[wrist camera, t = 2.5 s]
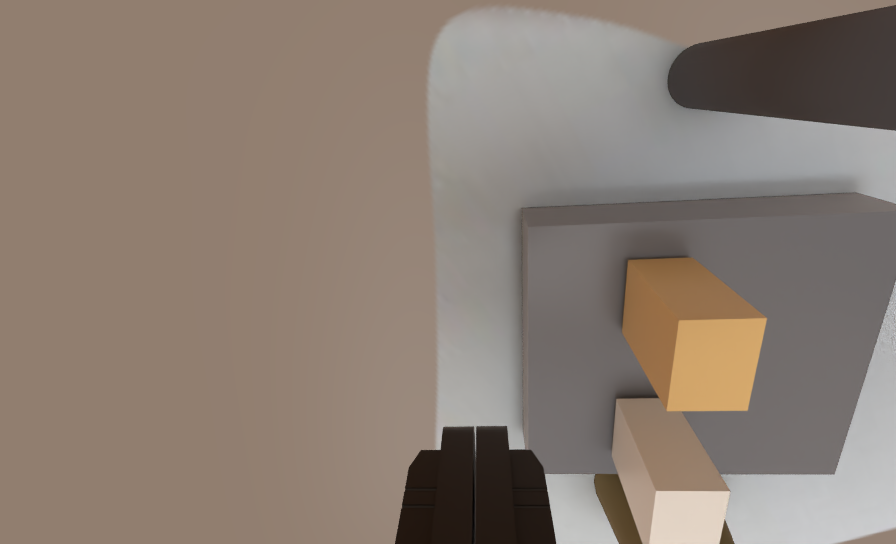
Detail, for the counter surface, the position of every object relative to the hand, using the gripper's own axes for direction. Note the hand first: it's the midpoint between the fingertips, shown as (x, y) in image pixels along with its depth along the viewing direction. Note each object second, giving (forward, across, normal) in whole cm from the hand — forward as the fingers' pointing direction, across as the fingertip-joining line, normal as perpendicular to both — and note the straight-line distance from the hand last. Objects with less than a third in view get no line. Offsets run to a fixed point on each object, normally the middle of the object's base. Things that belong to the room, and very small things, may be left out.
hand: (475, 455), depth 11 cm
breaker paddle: (+9, -7, 0) cm, 11 cm away
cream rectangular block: (+9, -7, +7) cm, 13 cm away
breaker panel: (+12, -9, +3) cm, 15 cm away
